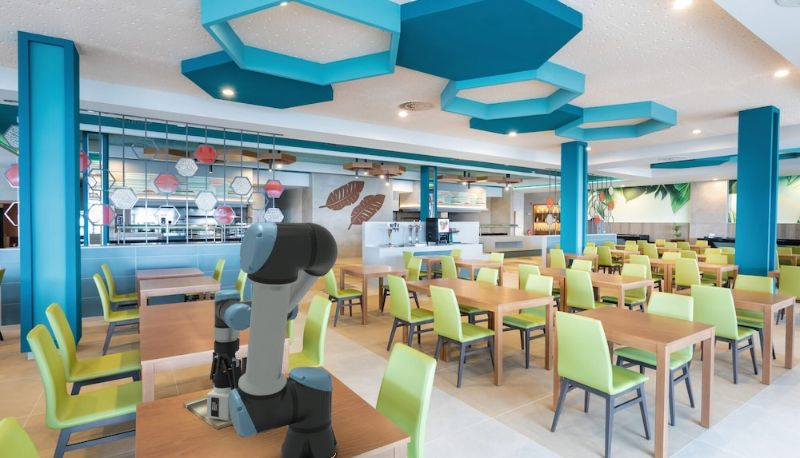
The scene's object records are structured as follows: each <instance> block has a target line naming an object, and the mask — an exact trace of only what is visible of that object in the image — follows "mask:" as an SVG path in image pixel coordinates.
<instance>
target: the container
mask: <svg viewBox="0 0 800 458" xmlns="http://www.w3.org/2000/svg"><path fill="white" fill-rule="evenodd" d="M213 386H214V390H213V389H212V390H210V391H209V392H208V393H207V394H206V395H207V417H208V418H215V419H222V420H229V419H231V415H230V408H229V393H230V391H231V388H230V383H229V379H228V375H227V373H226V372H225V371H224V372H221V373H218V374H216V375H215V377H214V383H213Z"/></svg>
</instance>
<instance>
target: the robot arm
mask: <svg viewBox="0 0 800 458" xmlns="http://www.w3.org/2000/svg"><path fill="white" fill-rule="evenodd" d="M338 251H339V249H338V244H337V240H336V238H335V237H334V235H333V234H332V233H331V231H329V229H327V228H326V227H324V225H321V224H318V223H314V222H290V221H289V222H285V221H283V222H282V221H271V220H270V221H267V222H254V223H252V224H250V225H249V227H248V228H247V229H246V230H245V232H244V234H243V236H242V239H241V243H240V248H239V257H240V259H239V265H240V268H241V271H242V272H243V273H245V274H247V276H246V277H247V278H246V279H247V280H249V282H250V283H251V284H253V285H252V295H251V300H245V301H241V300H242V298H241V292H240V291H239V290H238V289H222V290H219V291H216V293H215V295H214V326H213V327H214V328H213V339H214V341H213V351H212V362H211V367H210V368H211V369H210V374H209V380H211V381H212V384H214V377H215V375H216V374H218V373H221V372H224V371H225V372H226V373H227V375H228V379H229V383H230V388H231V391H230V393H229V408H230V415H231V418H232V422H233V424H232V426H233V428H234V430H235V432H236V434H237V435H238V436H239V437H241V438H247V437H253V436H259V434H263V433H265V432H269V431H273V430H276V429H280V428H283V427H286V426H288V427H287V430H286V433H285V437H284V441H283V443H282V445H281V447H280V448H281V449H280V458H331V457H333V456H334V455H335V453H336V452H337V453H338V441H337V439H336V435H335V432H334V429H333V426H332V417H333V416H332V415H333V414H332V407H333V390H334V387H333V378H332V375H331V374H330V372H328V371H327V370H325V369H323V368H319V367H315V366H299V367H293V368H292V369H290V370H289V373H288V377H286V375H285V374H284V373H283V372H282V370H283V363H284V362H283V361H284V351H285V342H286V341H285V340H286V332H287V322H288V321H289V322H290V321H293V320H296V318H297V317H298V313H299V303H301V300H302V299H303V298H304V297H305V296H306V294H308V293H309V291H310V290H311V289H312V287H313V286H314V285H315V283H316V282H317V281H318V280H319V278H321V277H325V276H326V275H327V274H329V272H331V270H332V269H333V267H334V266H335V264H336V262H337V258H338V253H339V252H338ZM247 329H249V330H248V331H249V332H248V342H247V353H246V354H247V356H246V365H245V366H246V367H245V373H242V372H243V371H242V359H241V358H239V359H237V357H236V356H237V355H236V353H237V352H238V351H239V350H240V344H241V342H240V340H241V339H240V338H239V337H240V331H245V330H247ZM212 390H214V385H213V389H212Z"/></svg>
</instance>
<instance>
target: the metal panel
mask: <svg viewBox="0 0 800 458" xmlns="http://www.w3.org/2000/svg"><path fill="white" fill-rule="evenodd" d="M182 403H183V407H184V408H186V409H187V410H188V411H190V412H191V413H193V414H194V415H196V416H197V417H198V418H199V419H201V420H203V421H204V422H206V423H207V424H209V425H210V426H211V427H212V428H214V429H216V430H217V431H218V430H221V429H223V428H226V427H229V426H231V425H232V426H233V422H232V418H231V419H229V420H222V419H215V418H208V417H207V394H206V395H203V396H199V397H196V398H193V399H190V400H187V401H184V402H183V401H182Z"/></svg>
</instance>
